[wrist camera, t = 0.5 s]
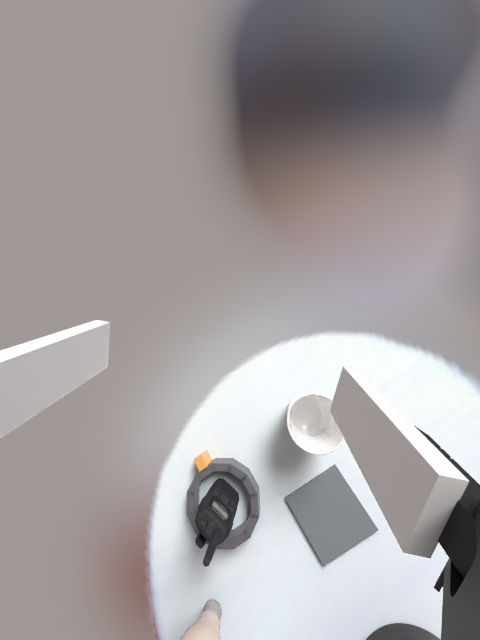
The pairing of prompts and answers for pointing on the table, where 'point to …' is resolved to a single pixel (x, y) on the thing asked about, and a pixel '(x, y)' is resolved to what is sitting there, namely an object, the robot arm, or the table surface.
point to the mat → (330, 515)
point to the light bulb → (206, 624)
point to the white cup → (313, 423)
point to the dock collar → (243, 473)
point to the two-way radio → (216, 516)
